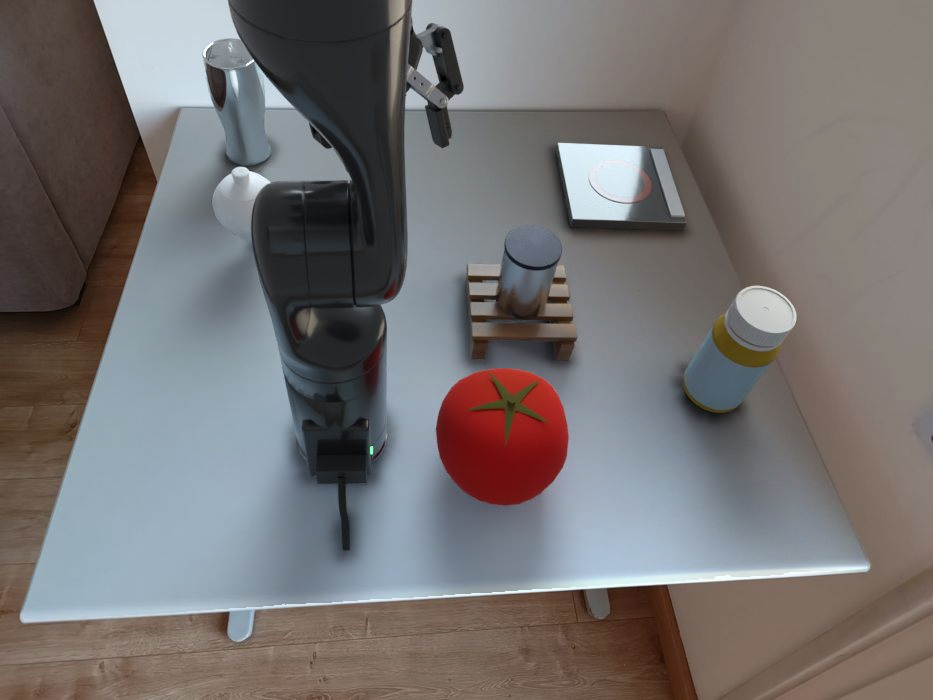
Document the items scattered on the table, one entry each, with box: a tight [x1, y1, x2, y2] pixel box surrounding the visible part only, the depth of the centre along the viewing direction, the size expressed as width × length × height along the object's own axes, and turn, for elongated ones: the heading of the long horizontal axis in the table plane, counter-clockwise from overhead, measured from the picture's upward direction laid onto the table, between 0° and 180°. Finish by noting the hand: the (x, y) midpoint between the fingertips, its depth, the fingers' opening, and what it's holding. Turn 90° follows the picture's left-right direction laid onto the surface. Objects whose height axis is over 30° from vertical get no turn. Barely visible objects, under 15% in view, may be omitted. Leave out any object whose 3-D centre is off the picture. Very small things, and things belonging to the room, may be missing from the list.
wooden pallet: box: [465, 263, 578, 361], centre depth 85 cm, size 12×12×4 cm
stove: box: [555, 142, 688, 231], centre depth 101 cm, size 16×16×2 cm
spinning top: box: [211, 166, 272, 244], centre depth 85 cm, size 8×8×12 cm
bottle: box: [682, 285, 798, 414], centre depth 77 cm, size 7×7×15 cm
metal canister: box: [495, 224, 563, 319], centre depth 80 cm, size 6×6×9 cm
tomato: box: [435, 367, 570, 507], centre depth 70 cm, size 13×14×12 cm
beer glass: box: [201, 38, 272, 167], centre depth 93 cm, size 7×7×15 cm
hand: (402, 161), depth 67 cm, fingers open, 8 cm apart
